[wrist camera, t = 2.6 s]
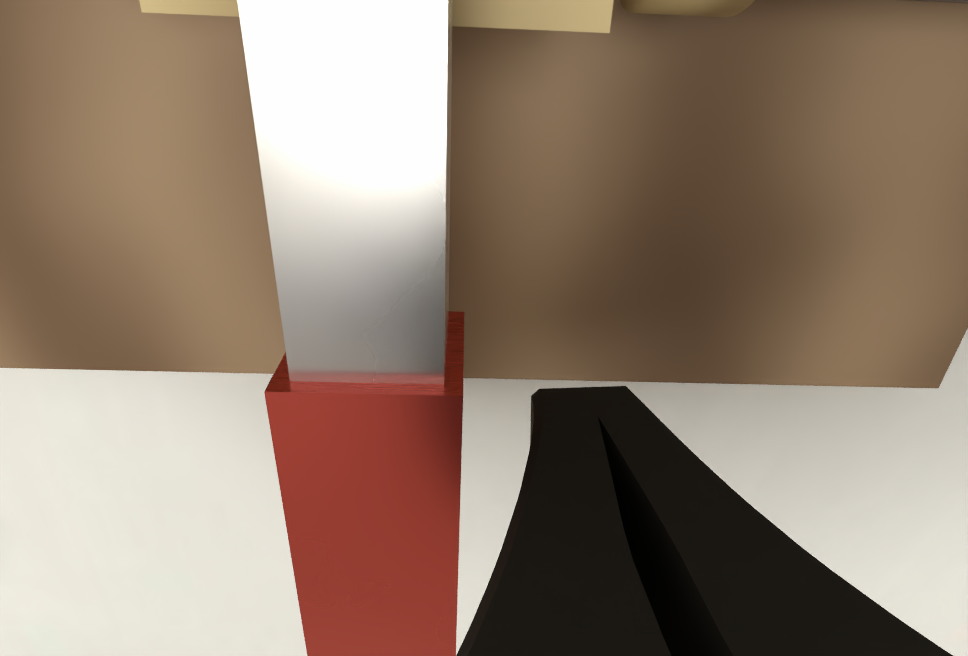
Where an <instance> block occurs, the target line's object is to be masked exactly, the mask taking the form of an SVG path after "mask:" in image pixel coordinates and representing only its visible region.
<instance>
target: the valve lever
mask: <svg viewBox="0 0 968 656" xmlns="http://www.w3.org/2000/svg"><path fill="white" fill-rule="evenodd" d="M237 1H238V9H239V16H240V23H241V30H242V38H243V45H244V52H245V59H246V67H247V74H248V81H249V89H250V96H251V103H252V110H253V118H254V125H255V132H256V139H257V147H258V154H259V161H260V168H261V176H262V183H263V190H264V198H265V205H266V212H267V219H268V227H269V234H270V241H271V248H272V256H273V263H274V270H275V278H276V285H277V292H278V299H279V307H280V314H281V321H282V328H283V336H284V343H285V350H286V352H285V354H284V356H283V358H282V360H281V362H280V363H279V365H278V367H277V369H276V371H275V373H274V375H273V377H272V379H271V380H270V382H269V384H268V386H267V388H266V390H265V398H266V405H267V411H268V417H269V423H270V429H271V435H272V441H273V447H274V453H275V460H276V466H277V472H278V478H279V484H280V490H281V496H282V502H283V509H284V515H285V521H286V527H287V533H288V539H289V545H290V551H291V558H292V564H293V570H294V576H295V582H296V588H297V594H298V600H299V606H300V613H301V619H302V625H303V631H304V637H305V643H306V649H307V655H308V656H456V625H457V589H458V554H459V518H460V483H461V448H462V412H463V364H464V312H457V311H449V244H450V169H451V94H452V19H453V0H237Z"/></svg>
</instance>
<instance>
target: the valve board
mask: <svg viewBox="0 0 968 656" xmlns="http://www.w3.org/2000/svg"><path fill="white" fill-rule="evenodd" d="M449 311H457V312H464V364H463V378H495V379H540V380H586V381H631V382H677V383H722V384H768V385H813V386H859V387H904V388H939V386H940V384H941V382H942V380H943V377H944V375H945V373H946V371H947V369H948V367H949V365H950V363H951V361H952V359H953V357H954V355H955V353H956V351H957V349H958V347H959V344H960V342H961V340H962V338H963V336H964V334H965V332H966V330H967V328H968V0H453V19H452V94H451V169H450V244H449ZM285 352H286V350H285V343H284V336H283V328H282V321H281V314H280V307H279V299H278V292H277V285H276V278H275V270H274V263H273V256H272V248H271V241H270V234H269V227H268V219H267V212H266V205H265V198H264V190H263V183H262V176H261V168H260V161H259V154H258V147H257V139H256V132H255V125H254V118H253V110H252V103H251V96H250V89H249V81H248V74H247V67H246V59H245V52H244V45H243V38H242V30H241V23H240V16H239V9H238V1H237V0H0V368H39V369H85V370H130V371H176V372H222V373H267V374H274V373H275V371H276V369H277V367H278V365H279V363H280V362H281V360H282V358H283V356H284V354H285Z"/></svg>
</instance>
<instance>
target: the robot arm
mask: <svg viewBox="0 0 968 656" xmlns="http://www.w3.org/2000/svg"><path fill="white" fill-rule="evenodd" d="M457 656H953V655H951V654H950V653H948V652H947V651H945V650H943V649H942V648H940V647H939V646H937V645H936V644H935V643H933V642H932V641H930V640H929V639H927V638H926V637H924V636H923V635H921V634H920V633H918V632H917V631H915V630H914V629H912V628H911V627H909V626H908V625H906V624H905V623H904V622H902V621H901V620H899V619H898V618H896V617H895V616H894V615H892V614H891V613H889V612H888V611H887V610H885V609H884V608H883V607H881V606H880V605H878V604H877V603H876V602H874V601H873V600H871V599H870V598H869V597H867V596H866V595H865V594H863V593H862V592H860V591H859V590H858V589H856V588H855V587H854V586H852V585H851V584H849V583H848V582H847V581H845V580H844V579H843V578H841V577H840V576H838V575H837V574H836V573H834V572H833V571H832V570H830V569H829V568H828V567H826V566H825V565H824V564H822V563H821V562H820V561H819V560H817V559H816V558H815V557H813V556H812V555H811V554H809V553H808V552H807V551H806V550H804V549H803V548H802V547H801V546H799V545H798V544H797V543H796V542H794V541H793V540H792V539H791V538H790V537H788V536H787V535H786V534H785V533H783V532H782V531H781V530H780V529H779V528H777V527H776V526H775V525H774V524H773V523H771V522H770V521H769V520H768V519H767V518H765V517H764V516H763V515H762V514H760V513H759V512H758V511H757V510H756V509H754V508H753V507H752V506H751V505H750V504H749V503H748V502H746V501H745V500H744V499H743V498H742V497H741V496H740V495H738V494H737V493H736V492H735V491H734V490H733V489H732V488H730V487H729V486H728V485H727V484H726V483H725V482H724V481H723V480H722V479H721V478H720V477H719V476H717V475H716V474H715V473H714V472H713V471H712V470H711V469H710V468H709V467H708V466H707V465H705V464H704V463H703V462H702V461H701V460H700V459H699V458H698V457H697V456H696V455H695V454H694V453H693V452H692V451H691V450H690V449H689V448H688V447H687V446H686V445H684V444H683V443H682V442H681V441H680V440H679V439H678V438H677V437H676V436H675V435H674V434H673V433H672V432H671V431H670V430H669V429H668V428H667V427H666V426H665V425H664V424H663V423H662V422H661V421H660V420H659V419H658V418H657V417H656V416H655V415H654V414H653V413H652V412H651V411H650V410H649V409H648V408H647V407H646V406H645V405H644V404H643V403H642V402H641V401H640V400H639V399H638V398H637V397H636V396H635V395H634V394H633V393H632V392H631V391H630V390H629V389H628V388H627V387H626V386H613V387H583V388H553V389H539V390H538V391H537V392H535V393H534V394H533V395H532V396H531V442H530V451H529V456H528V460H527V464H526V468H525V473H524V477H523V481H522V485H521V490H520V493H519V497H518V500H517V503H516V506H515V510H514V513H513V516H512V519H511V522H510V525H509V528H508V531H507V534H506V537H505V540H504V543H503V546H502V549H501V552H500V555H499V557H498V560H497V563H496V565H495V568H494V570H493V573H492V576H491V578H490V581H489V583H488V586H487V588H486V591H485V593H484V595H483V598H482V600H481V602H480V605H479V607H478V609H477V612H476V614H475V617H474V619H473V621H472V623H471V626H470V628H469V630H468V632H467V634H466V637H465V639H464V641H463V643H462V645H461V647H460V649H459V651H458V653H457Z"/></svg>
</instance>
